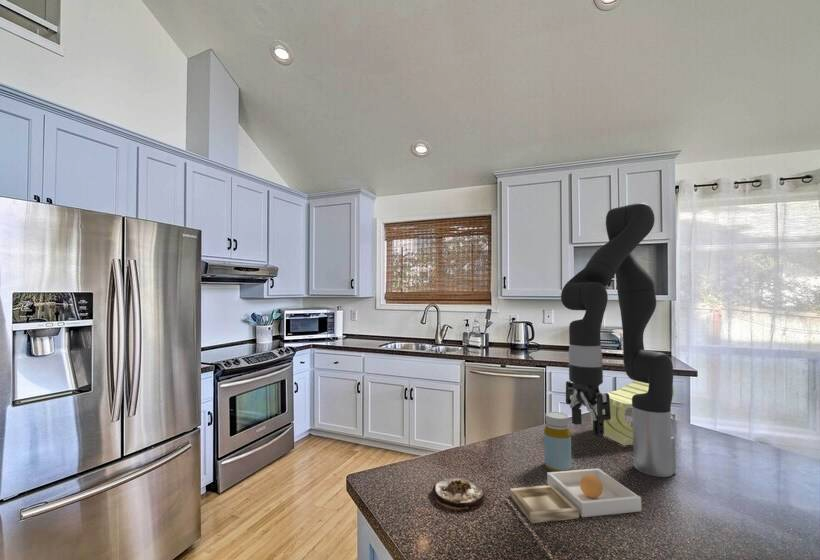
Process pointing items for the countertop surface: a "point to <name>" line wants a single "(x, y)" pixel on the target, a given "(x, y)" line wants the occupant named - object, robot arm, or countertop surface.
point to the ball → (591, 486)
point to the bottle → (557, 442)
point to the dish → (609, 502)
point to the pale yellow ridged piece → (621, 412)
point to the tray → (543, 503)
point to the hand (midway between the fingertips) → (587, 429)
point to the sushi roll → (459, 494)
